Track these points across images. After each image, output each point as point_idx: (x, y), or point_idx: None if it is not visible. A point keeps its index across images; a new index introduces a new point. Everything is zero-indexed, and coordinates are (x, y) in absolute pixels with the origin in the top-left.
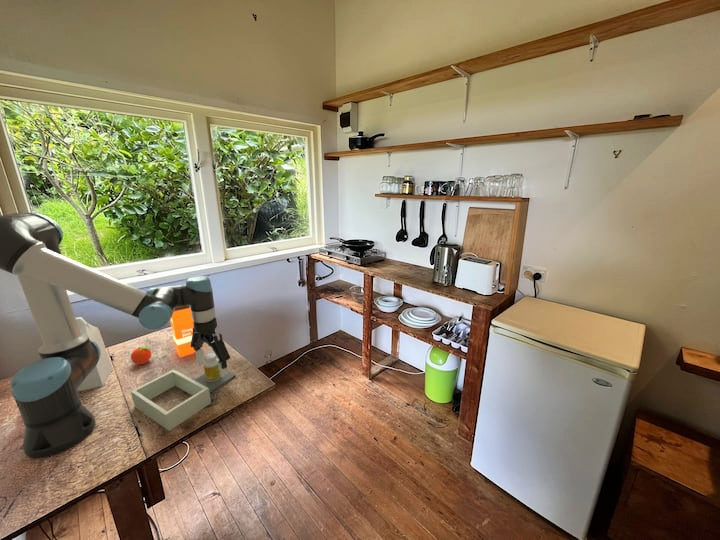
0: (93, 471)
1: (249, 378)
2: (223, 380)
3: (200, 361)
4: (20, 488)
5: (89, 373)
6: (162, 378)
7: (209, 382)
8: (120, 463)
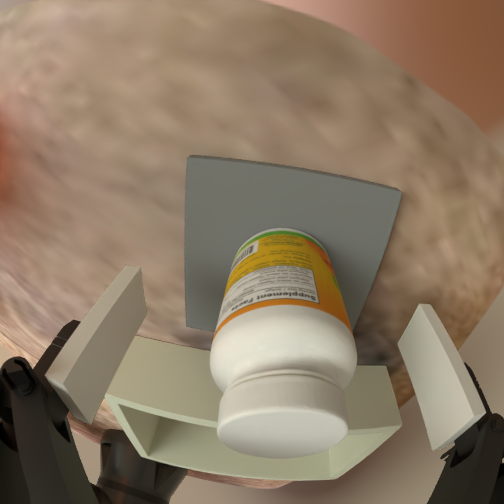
0: None
1: (474, 181)
2: (363, 266)
3: (130, 322)
4: (215, 479)
5: None
6: (131, 418)
7: None
8: None
